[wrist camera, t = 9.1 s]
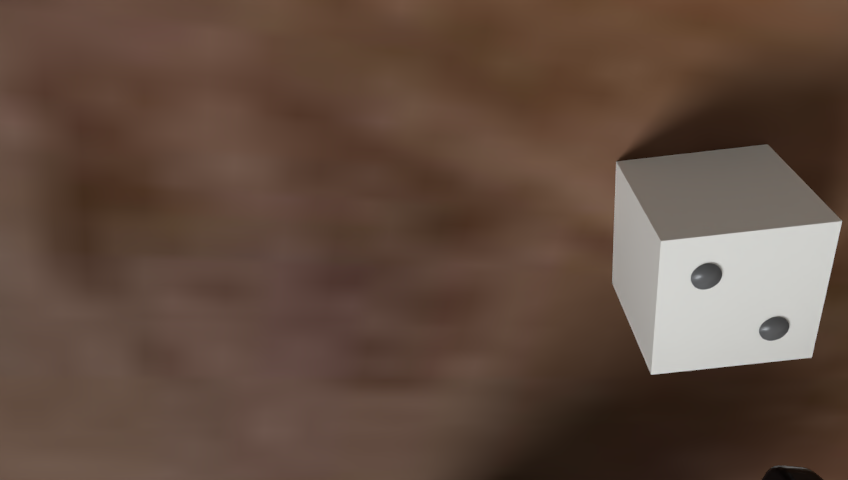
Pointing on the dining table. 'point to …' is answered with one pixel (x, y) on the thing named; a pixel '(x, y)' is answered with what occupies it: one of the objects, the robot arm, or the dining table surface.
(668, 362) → the die
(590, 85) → the dining table surface
